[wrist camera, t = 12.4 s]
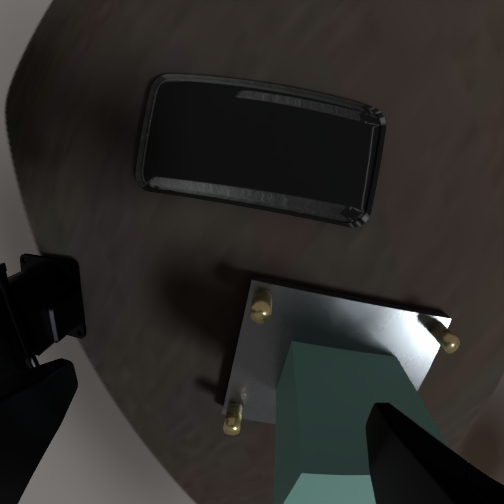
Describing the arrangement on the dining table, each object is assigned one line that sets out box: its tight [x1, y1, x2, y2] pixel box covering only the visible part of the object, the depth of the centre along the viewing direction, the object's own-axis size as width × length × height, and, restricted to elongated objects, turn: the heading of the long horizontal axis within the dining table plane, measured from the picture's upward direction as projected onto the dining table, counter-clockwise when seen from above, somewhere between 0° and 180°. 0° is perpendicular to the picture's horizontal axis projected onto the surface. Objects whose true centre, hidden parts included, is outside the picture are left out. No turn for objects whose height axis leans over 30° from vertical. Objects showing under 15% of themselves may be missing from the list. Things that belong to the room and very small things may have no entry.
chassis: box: [222, 275, 460, 435], centre depth 20 cm, size 15×12×4 cm
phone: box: [135, 74, 386, 227], centre depth 18 cm, size 8×1×15 cm
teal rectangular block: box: [274, 341, 447, 504], centre depth 16 cm, size 8×4×11 cm, turn 78°
